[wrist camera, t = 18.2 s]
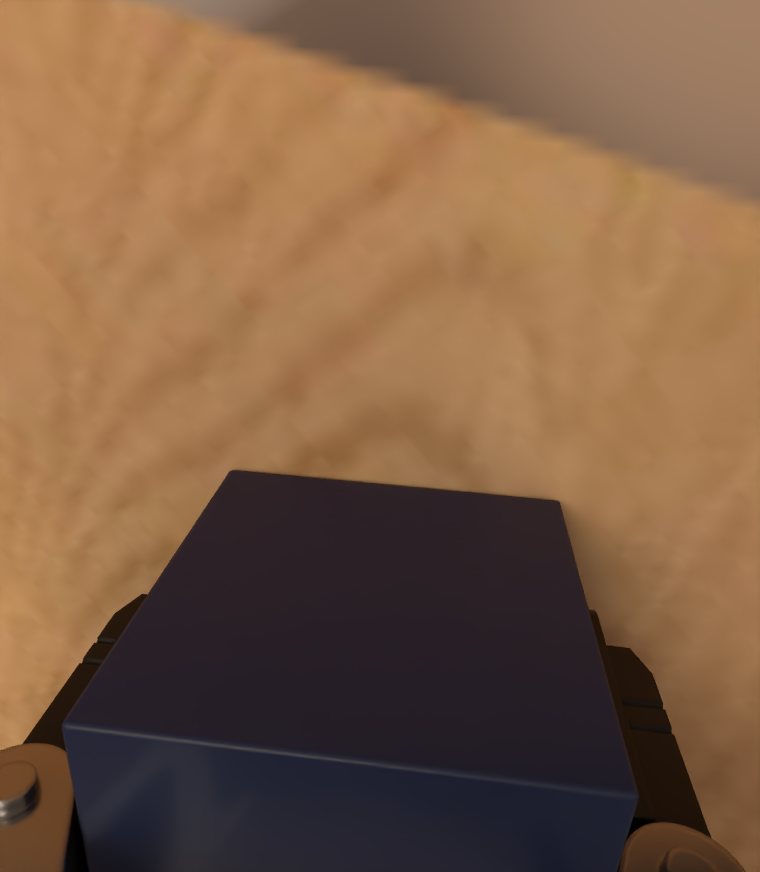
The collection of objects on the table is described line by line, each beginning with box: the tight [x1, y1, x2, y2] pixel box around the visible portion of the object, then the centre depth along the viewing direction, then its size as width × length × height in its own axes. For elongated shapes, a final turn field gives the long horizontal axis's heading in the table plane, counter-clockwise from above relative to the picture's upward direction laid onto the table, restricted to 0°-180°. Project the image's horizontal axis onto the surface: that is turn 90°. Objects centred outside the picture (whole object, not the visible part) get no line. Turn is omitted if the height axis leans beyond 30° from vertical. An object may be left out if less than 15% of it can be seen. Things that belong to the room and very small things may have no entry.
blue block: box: [62, 470, 639, 872], centre depth 9 cm, size 5×5×5 cm
